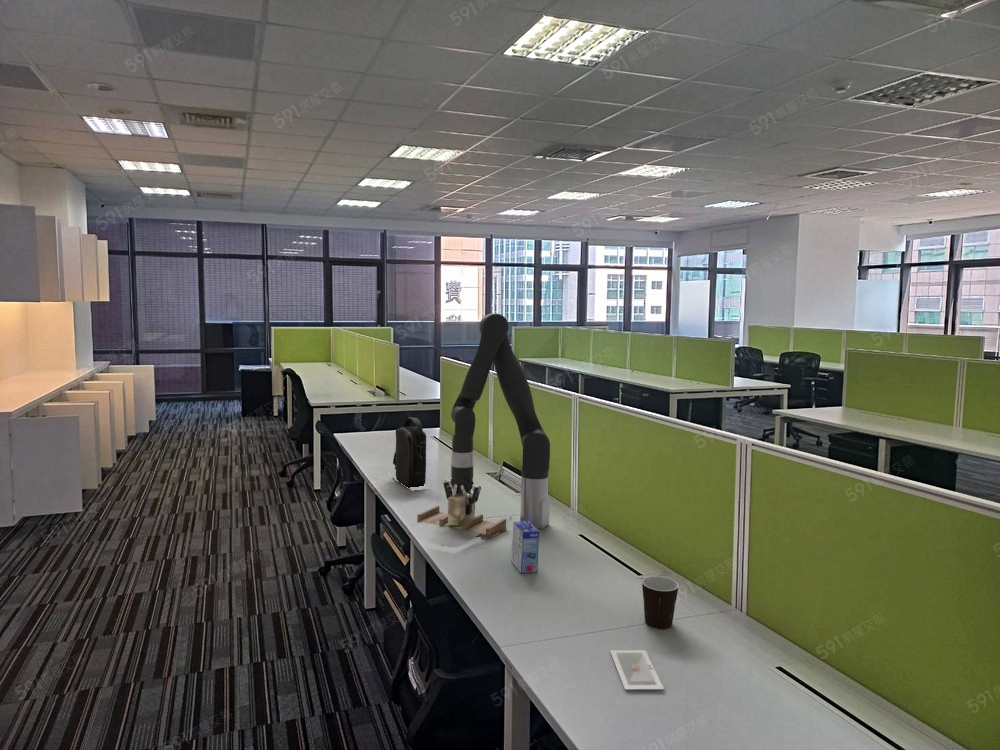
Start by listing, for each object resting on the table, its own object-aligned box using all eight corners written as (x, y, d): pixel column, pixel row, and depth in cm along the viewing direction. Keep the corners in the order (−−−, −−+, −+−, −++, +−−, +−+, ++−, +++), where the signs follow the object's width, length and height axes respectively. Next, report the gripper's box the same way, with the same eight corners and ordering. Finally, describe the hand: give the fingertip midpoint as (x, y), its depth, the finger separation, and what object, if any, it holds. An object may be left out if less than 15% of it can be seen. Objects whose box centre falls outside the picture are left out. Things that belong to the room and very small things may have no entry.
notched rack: (505, 529, 229) (506, 519, 228) (488, 539, 218) (488, 529, 218) (436, 515, 242) (437, 505, 242) (417, 524, 232) (417, 514, 231)
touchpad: (624, 694, 134) (625, 684, 134) (609, 655, 149) (610, 645, 149) (663, 694, 134) (664, 683, 134) (645, 655, 149) (645, 645, 149)
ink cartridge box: (539, 572, 193) (540, 523, 191) (520, 574, 191) (521, 524, 190) (528, 559, 202) (529, 512, 201) (510, 561, 201) (511, 513, 199)
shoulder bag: (432, 488, 276) (433, 421, 273) (411, 491, 271) (412, 422, 268) (410, 476, 295) (411, 412, 292) (391, 478, 291) (391, 414, 288)
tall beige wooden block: (475, 517, 234) (475, 491, 233) (458, 526, 224) (458, 499, 223) (464, 515, 236) (465, 489, 235) (447, 523, 226) (447, 497, 225)
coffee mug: (650, 611, 170) (652, 573, 168) (682, 622, 164) (684, 582, 163) (627, 628, 161) (629, 587, 159) (661, 640, 155) (663, 598, 154)
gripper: (486, 464, 228) (485, 513, 230) (450, 459, 235) (449, 507, 236) (475, 469, 221) (474, 520, 223) (438, 463, 228) (437, 512, 230)
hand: (461, 513), depth 230 cm, fingers open, 4 cm apart
